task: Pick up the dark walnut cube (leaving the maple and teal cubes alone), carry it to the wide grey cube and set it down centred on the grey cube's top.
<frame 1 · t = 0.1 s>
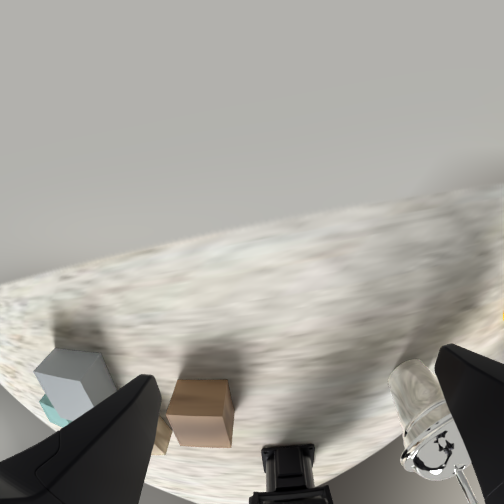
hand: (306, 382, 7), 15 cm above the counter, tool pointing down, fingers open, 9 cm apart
grey cube: (88, 374, 26), on the counter
walnut cube: (206, 396, 26), on the counter
teal cube: (68, 398, 28), on the counter
cup with straw: (405, 375, 25), on the counter
maple cube: (150, 421, 28), on the counter
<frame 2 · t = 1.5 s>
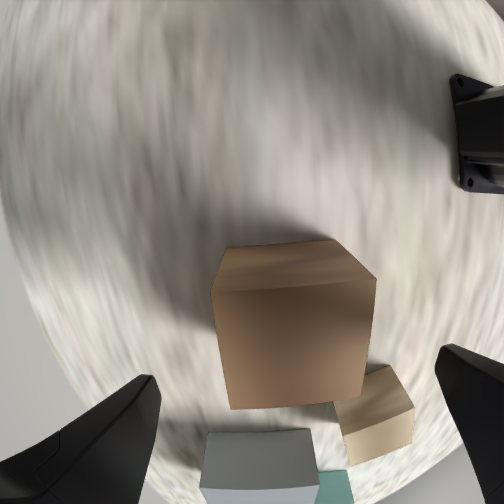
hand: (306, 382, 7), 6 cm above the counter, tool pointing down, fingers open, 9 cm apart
grey cube: (261, 455, 18), on the counter
walnut cube: (284, 293, 14), on the counter
teal cube: (319, 480, 19), on the counter
maple cube: (363, 396, 16), on the counter
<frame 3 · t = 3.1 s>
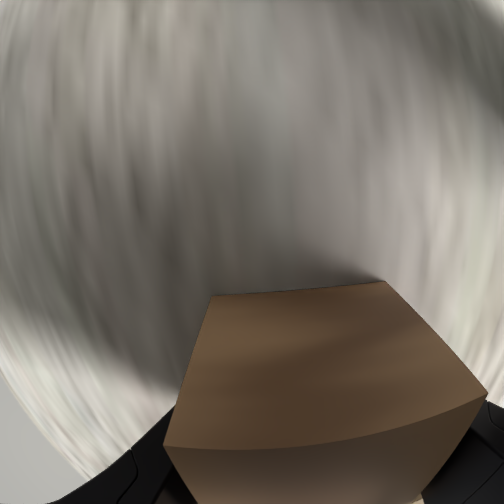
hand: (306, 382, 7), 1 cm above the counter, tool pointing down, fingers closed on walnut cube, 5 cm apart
walnut cube: (302, 361, 8), on the counter, touching gripper
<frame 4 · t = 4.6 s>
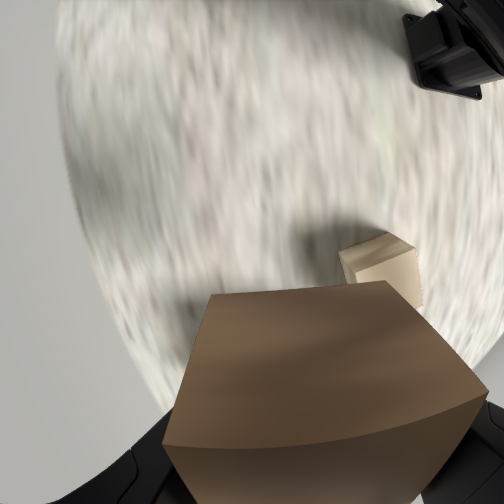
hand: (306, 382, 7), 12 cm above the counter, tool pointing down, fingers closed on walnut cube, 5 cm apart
walnut cube: (302, 360, 8), point 11 cm above the counter, touching gripper
maple cube: (370, 267, 19), on the counter
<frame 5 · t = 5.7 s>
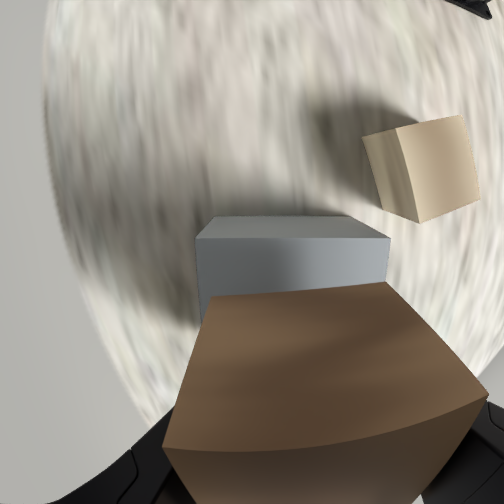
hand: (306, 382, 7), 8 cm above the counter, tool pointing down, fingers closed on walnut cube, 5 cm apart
grey cube: (283, 279, 15), on the counter
walnut cube: (302, 361, 8), point 7 cm above the counter, touching gripper
maple cube: (402, 164, 13), on the counter
when the fingers open (7 cm above the counter, at t = 6.6 s): walnut cube drops 1 cm, resting on grey cube.
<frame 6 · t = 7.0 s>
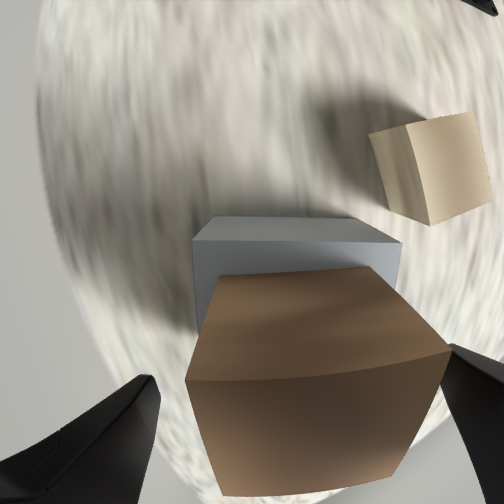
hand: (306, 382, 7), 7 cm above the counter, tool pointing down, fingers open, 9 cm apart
grey cube: (284, 284, 15), on the counter, touching walnut cube
walnut cube: (297, 337, 10), point 5 cm above the counter, touching grey cube
maple cube: (410, 163, 13), on the counter
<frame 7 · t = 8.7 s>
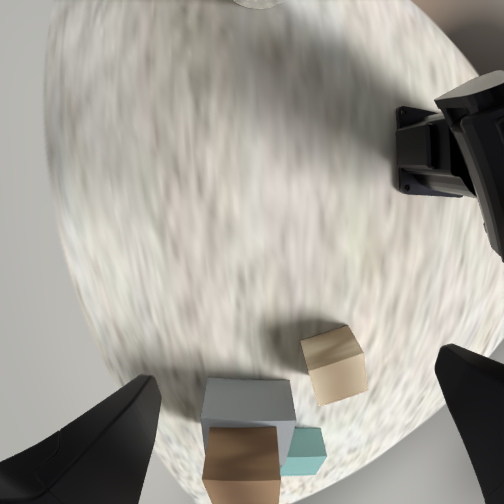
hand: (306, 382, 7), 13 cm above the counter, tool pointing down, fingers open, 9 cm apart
grey cube: (247, 405, 24), on the counter, touching walnut cube
walnut cube: (244, 445, 19), point 5 cm above the counter, touching grey cube
teal cube: (297, 438, 25), on the counter
maple cube: (328, 351, 22), on the counter
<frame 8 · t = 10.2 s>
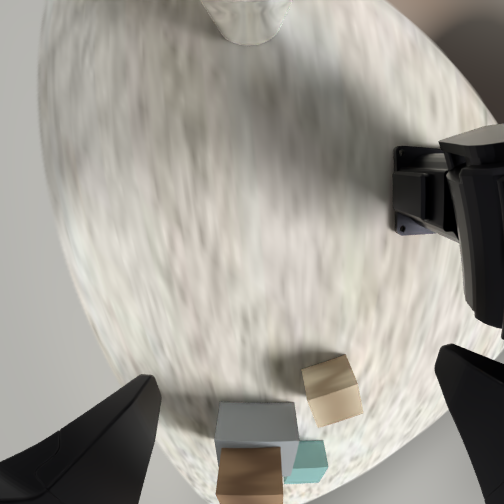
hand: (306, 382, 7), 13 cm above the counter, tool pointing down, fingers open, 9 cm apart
grey cube: (256, 423, 25), on the counter, touching walnut cube
walnut cube: (252, 461, 20), point 5 cm above the counter, touching grey cube
teal cube: (302, 449, 27), on the counter
cup with straw: (252, 21, 15), on the counter
maple cube: (328, 376, 23), on the counter
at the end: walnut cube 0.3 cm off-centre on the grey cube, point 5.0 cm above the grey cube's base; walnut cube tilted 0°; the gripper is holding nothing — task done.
